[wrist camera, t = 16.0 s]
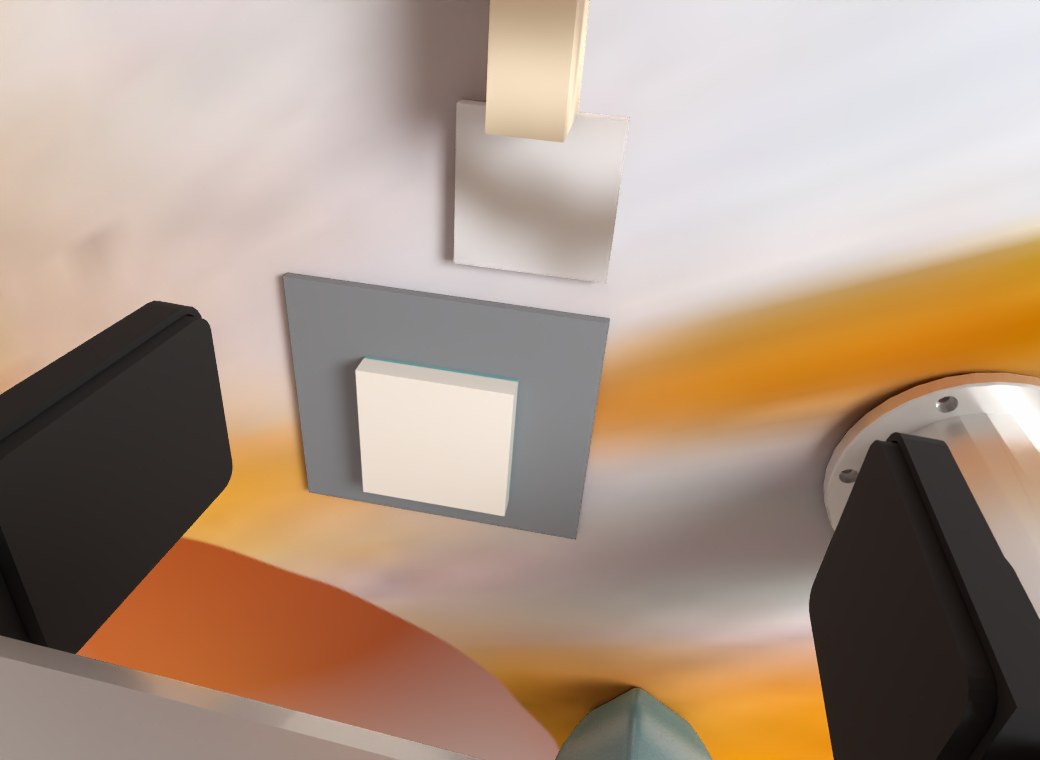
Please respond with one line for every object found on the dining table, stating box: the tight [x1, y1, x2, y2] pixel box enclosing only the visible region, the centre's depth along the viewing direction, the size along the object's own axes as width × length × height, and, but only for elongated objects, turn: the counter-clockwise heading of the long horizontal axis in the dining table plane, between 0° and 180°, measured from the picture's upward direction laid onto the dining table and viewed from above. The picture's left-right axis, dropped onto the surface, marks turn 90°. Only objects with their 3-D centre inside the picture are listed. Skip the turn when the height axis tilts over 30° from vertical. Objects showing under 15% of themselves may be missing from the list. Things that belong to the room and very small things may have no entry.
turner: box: [454, 0, 630, 283], centre depth 27 cm, size 17×7×5 cm, turn 176°
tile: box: [355, 356, 519, 516], centre depth 38 cm, size 8×1×8 cm
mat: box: [283, 273, 610, 539], centre depth 38 cm, size 16×14×1 cm
